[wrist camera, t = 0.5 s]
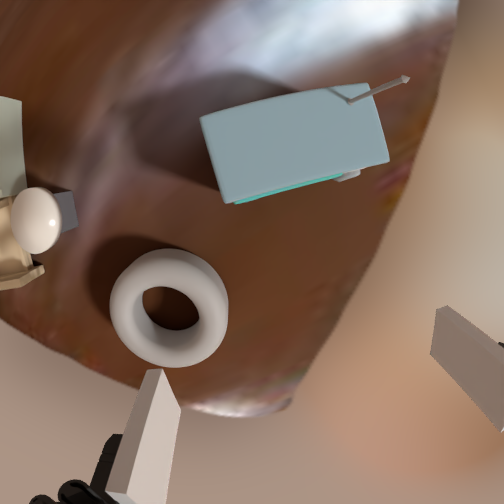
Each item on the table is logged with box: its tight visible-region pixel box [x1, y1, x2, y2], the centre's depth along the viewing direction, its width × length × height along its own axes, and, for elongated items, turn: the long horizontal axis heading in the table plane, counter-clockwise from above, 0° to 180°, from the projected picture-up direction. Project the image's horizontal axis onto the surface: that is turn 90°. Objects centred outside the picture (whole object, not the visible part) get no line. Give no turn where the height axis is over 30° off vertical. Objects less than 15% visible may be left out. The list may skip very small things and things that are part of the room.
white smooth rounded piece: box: [11, 187, 62, 254], centre depth 28 cm, size 8×8×2 cm
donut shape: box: [110, 249, 228, 367], centre depth 36 cm, size 15×15×7 cm
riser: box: [53, 191, 79, 233], centre depth 32 cm, size 5×5×6 cm
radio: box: [199, 75, 410, 204], centre depth 25 cm, size 16×9×20 cm, turn 106°
